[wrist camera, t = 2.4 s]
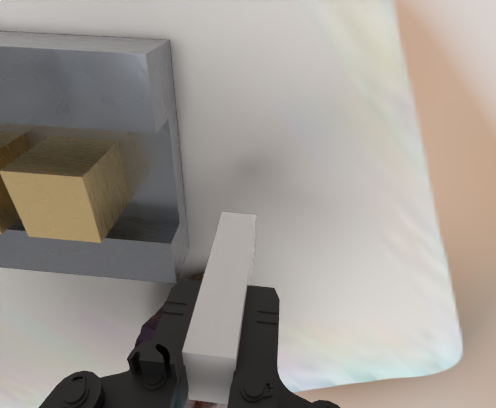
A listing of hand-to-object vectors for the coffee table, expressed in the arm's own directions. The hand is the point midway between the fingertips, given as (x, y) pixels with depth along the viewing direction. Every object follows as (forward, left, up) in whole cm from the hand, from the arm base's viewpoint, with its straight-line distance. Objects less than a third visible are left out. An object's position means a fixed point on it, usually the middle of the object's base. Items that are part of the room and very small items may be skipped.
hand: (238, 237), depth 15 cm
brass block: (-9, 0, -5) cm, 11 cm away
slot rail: (-12, 0, -7) cm, 13 cm away
